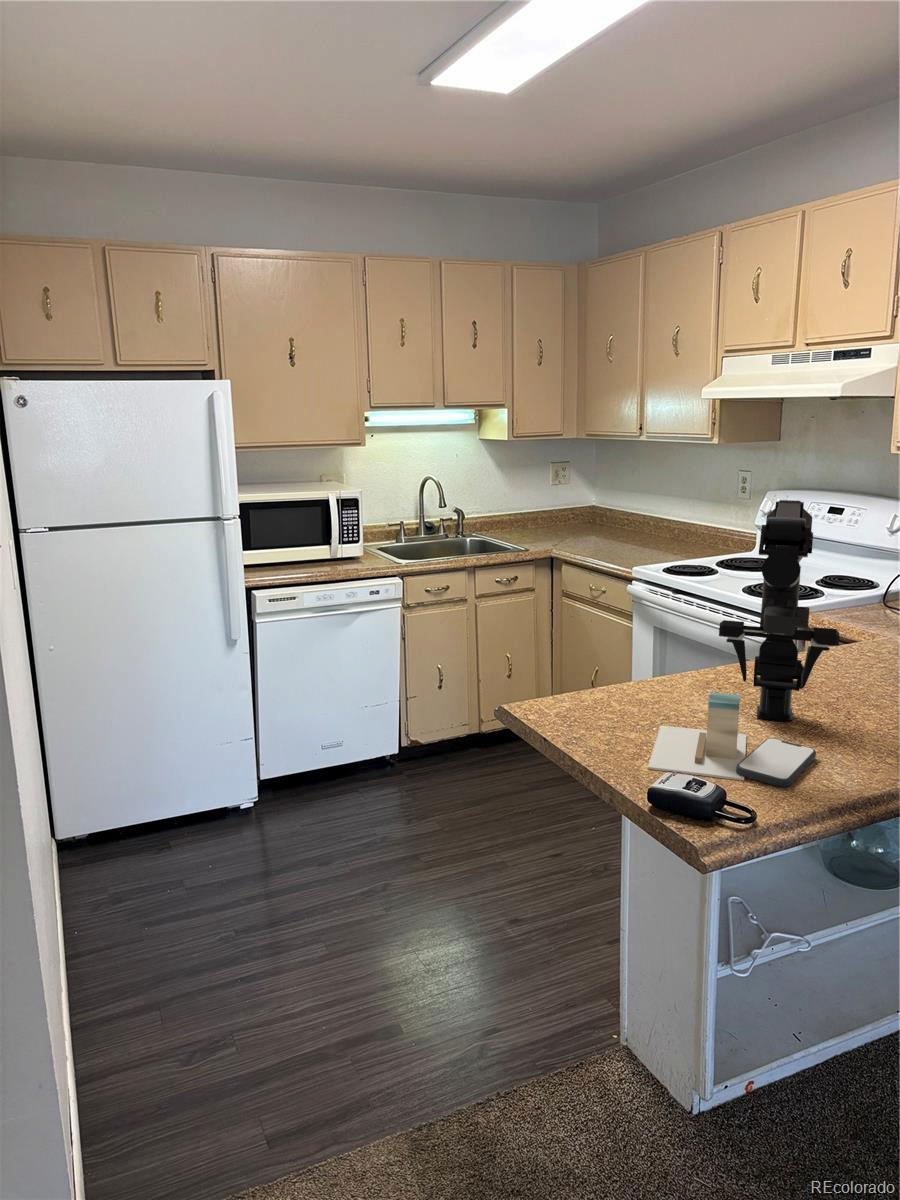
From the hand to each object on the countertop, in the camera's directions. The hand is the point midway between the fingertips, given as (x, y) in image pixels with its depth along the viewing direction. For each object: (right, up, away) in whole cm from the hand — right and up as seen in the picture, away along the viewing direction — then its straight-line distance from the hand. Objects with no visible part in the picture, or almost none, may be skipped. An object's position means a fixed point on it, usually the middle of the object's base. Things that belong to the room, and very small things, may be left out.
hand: (773, 684), depth 145 cm
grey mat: (-10, -13, +7) cm, 18 cm away
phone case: (+1, -14, +1) cm, 14 cm away
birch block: (-7, -13, +6) cm, 16 cm away
